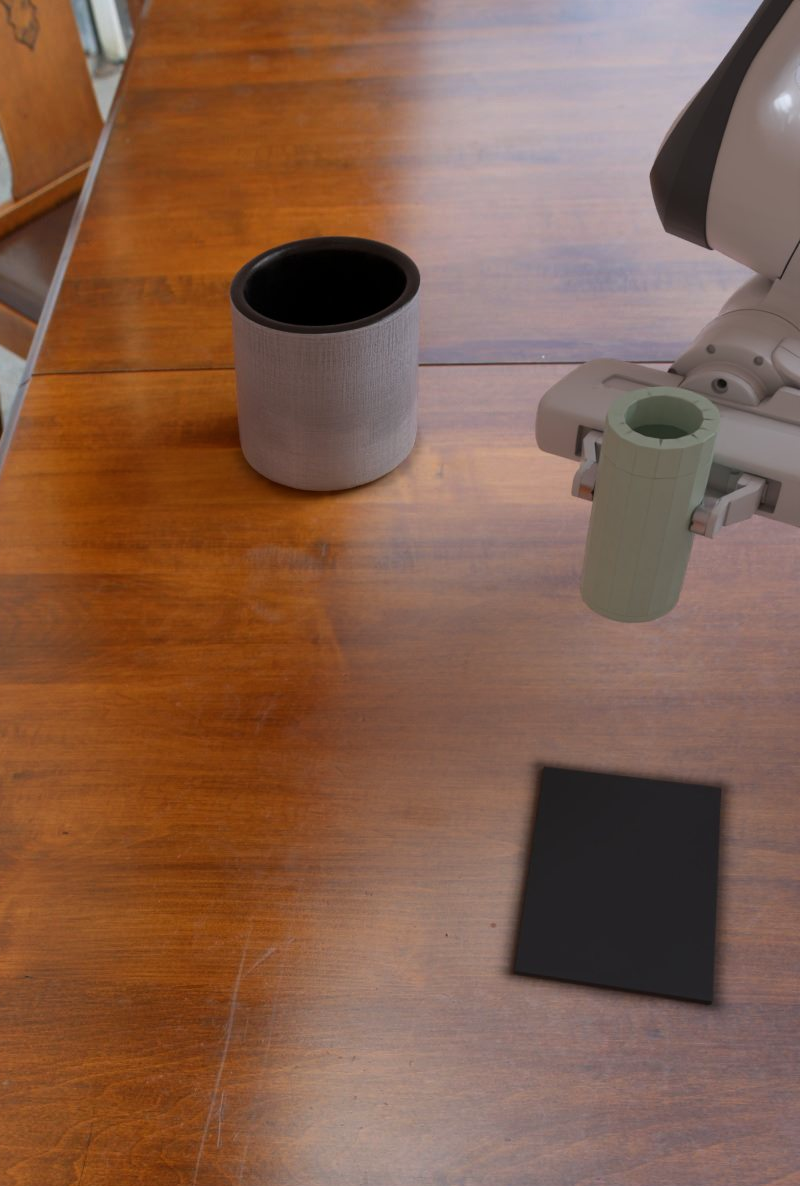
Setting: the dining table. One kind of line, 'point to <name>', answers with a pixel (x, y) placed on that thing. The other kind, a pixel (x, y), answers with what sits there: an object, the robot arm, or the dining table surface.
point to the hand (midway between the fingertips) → (641, 508)
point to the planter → (327, 361)
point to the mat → (623, 885)
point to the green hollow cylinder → (647, 501)
